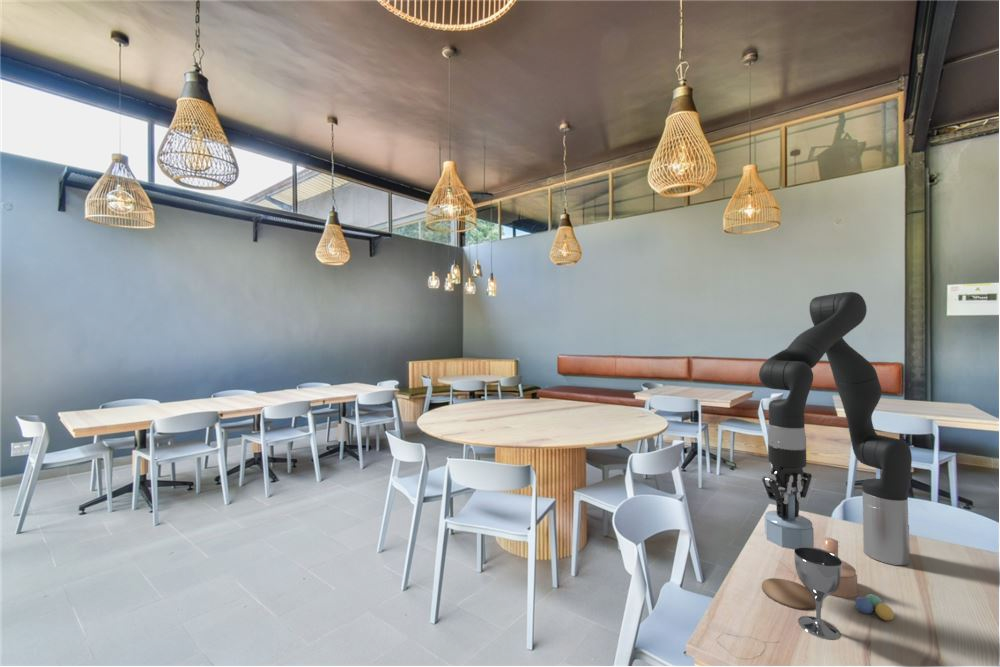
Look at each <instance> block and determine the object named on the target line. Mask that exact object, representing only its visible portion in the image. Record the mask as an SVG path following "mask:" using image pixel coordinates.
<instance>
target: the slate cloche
mask: <svg viewBox="0 0 1000 667" xmlns="http://www.w3.org/2000/svg"><path fill="white" fill-rule="evenodd" d="M780 495H781V497H783V493H781V492H780ZM787 504H788V519H782V518H780V517H778V515H777V510H771V511H766V512H765V514H764V534H765V536H766V540H767V541H769V542H771V543H773V544H775V545H777V546H779V547H781V548H786V549H789V550H790V549H791V550H794V551H795V548H797V547H802V546H806V547H814V548H815V545H814V543H815V542H814V538H815V537H814V533H815V532H814V527H813V522H812V520H810V519H809V518H807V517H806V516H804V515H801V514H799V516H798V517H795V494H794V493H793V492H792V493H791V494H789V495H788V503H787Z"/></svg>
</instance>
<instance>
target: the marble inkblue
mask: <svg viewBox="0 0 1000 667" xmlns="http://www.w3.org/2000/svg"><path fill="white" fill-rule="evenodd" d="M854 605H855V607H856V609H857V610H858V611H859V612H862V613H863V614H871V613H872V612H873V611H874V609H873V605H872V603H871V602H870V601H869V600H867V599H866V598H865V597H861V596H860V597H857V598H856V599H855V602H854Z"/></svg>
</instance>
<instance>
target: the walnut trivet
mask: <svg viewBox="0 0 1000 667" xmlns="http://www.w3.org/2000/svg"><path fill="white" fill-rule="evenodd" d="M761 590H762V592H763V593H764V594H765V595H766V597H768V598H770V599H771V600H773V601H774V602H776V603H778V604H781V605H783V606H785V607H788V608H791V609H796V610H803V611H805V610H807V611H809V610H814V609H816V606H815V601H814V598H813V596H812V594H811V593H810V592H809V590H808V589H807V588H806V587H805V586H804V585H803V584H801V583H798V582H795V581H792V580H789V579H785V578H776V577H774V578H772V577H771V578H767V579H764V580H763V581H762V583H761Z"/></svg>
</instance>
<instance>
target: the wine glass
mask: <svg viewBox="0 0 1000 667" xmlns="http://www.w3.org/2000/svg"><path fill="white" fill-rule="evenodd" d="M841 560H842V559H840V557H839V556H838V557H837V556H836V555H834V554H832V553H830V552H828V551H825V550H824V549H822V548H817V547H815V546H814V547H806V546H802V547H797V548H795V550H794V565H795V570H796V574H797V576H798V579H799V581H800V582H801V584H802V586H804V587H806V588H807V589H808V590H809V592H810V593H811V594H812V596H813V598H814V601H815V606H816V608H815V614H816V615H815V616H813V615H801V616H799V618H798V619H797V622H798V625H799V626H800V627H801V628H802V629H803V630H804V631H805V632H808V633H809V634H810V635H812V636H815V637H817V638H820V639H824V640H839V638H841V636H842V635H841V631H840V630H839V629H838V628H837V626H835V625H834V624H832V623H831V622H829V621H827V620H826V619H824V618H822V606H823V602H824V600H825V599H826V598H827V597H828V596H832V595H831V594H832V593H834V592H835V591H836V590H837V589H838V587H839V585H840V582H841V576H842V561H843V560H842V561H841Z"/></svg>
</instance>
